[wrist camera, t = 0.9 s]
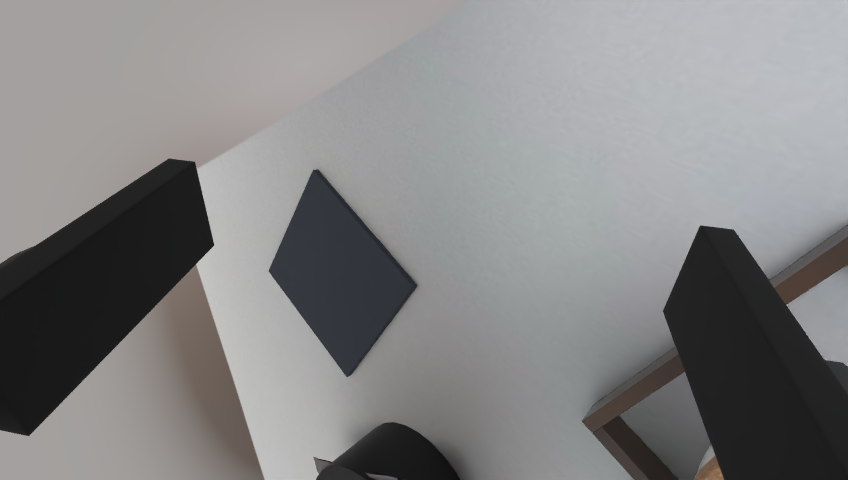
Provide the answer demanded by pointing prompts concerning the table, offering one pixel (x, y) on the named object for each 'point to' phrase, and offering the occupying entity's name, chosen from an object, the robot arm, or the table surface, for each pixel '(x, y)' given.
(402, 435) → the tape dispenser
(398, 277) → the mat
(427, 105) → the table surface
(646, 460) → the dark wooden square frame
